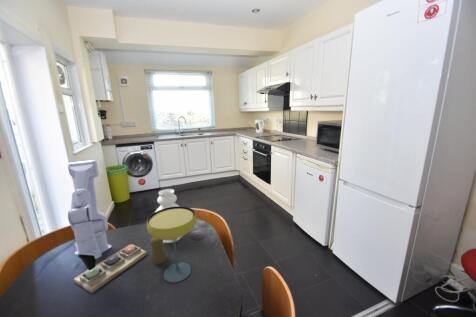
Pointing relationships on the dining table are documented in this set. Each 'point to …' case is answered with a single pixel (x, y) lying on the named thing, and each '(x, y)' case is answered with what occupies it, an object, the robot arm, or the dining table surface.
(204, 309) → the dining table surface
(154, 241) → the cork
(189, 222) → the cocktail glass
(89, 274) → the sage button
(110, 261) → the charcoal button
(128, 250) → the terracotta button
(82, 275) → the button board
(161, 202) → the decorative vase
